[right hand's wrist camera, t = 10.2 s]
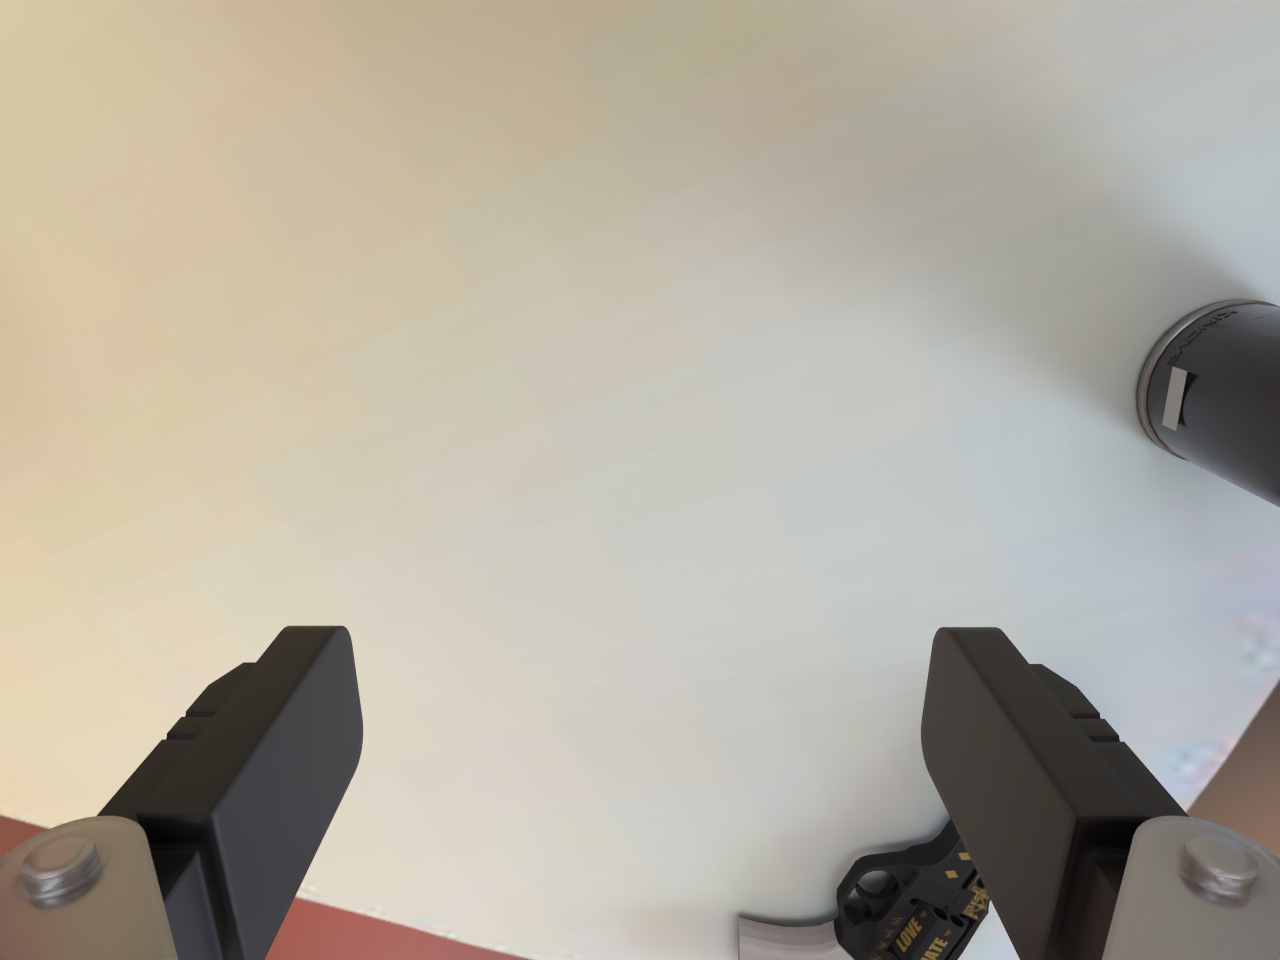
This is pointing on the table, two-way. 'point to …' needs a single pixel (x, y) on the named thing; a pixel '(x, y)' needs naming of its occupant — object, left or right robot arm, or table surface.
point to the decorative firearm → (888, 911)
